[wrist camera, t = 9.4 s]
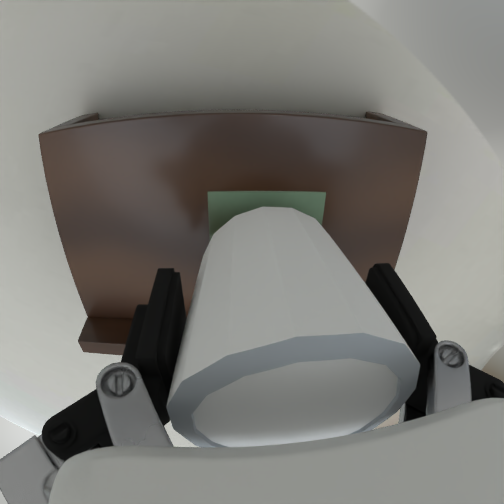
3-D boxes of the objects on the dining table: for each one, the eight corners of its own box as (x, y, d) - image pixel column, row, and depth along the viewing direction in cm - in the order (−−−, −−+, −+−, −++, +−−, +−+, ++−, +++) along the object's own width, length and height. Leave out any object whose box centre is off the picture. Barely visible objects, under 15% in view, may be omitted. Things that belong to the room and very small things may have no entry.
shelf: (81, 115, 15) (13, 145, 9) (383, 113, 16) (452, 143, 10) (112, 280, 21) (83, 352, 16) (353, 275, 23) (387, 344, 17)
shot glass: (242, 342, 16) (251, 472, 10) (153, 245, 12) (108, 400, 6) (366, 284, 14) (427, 410, 8) (309, 157, 11) (403, 278, 5)
